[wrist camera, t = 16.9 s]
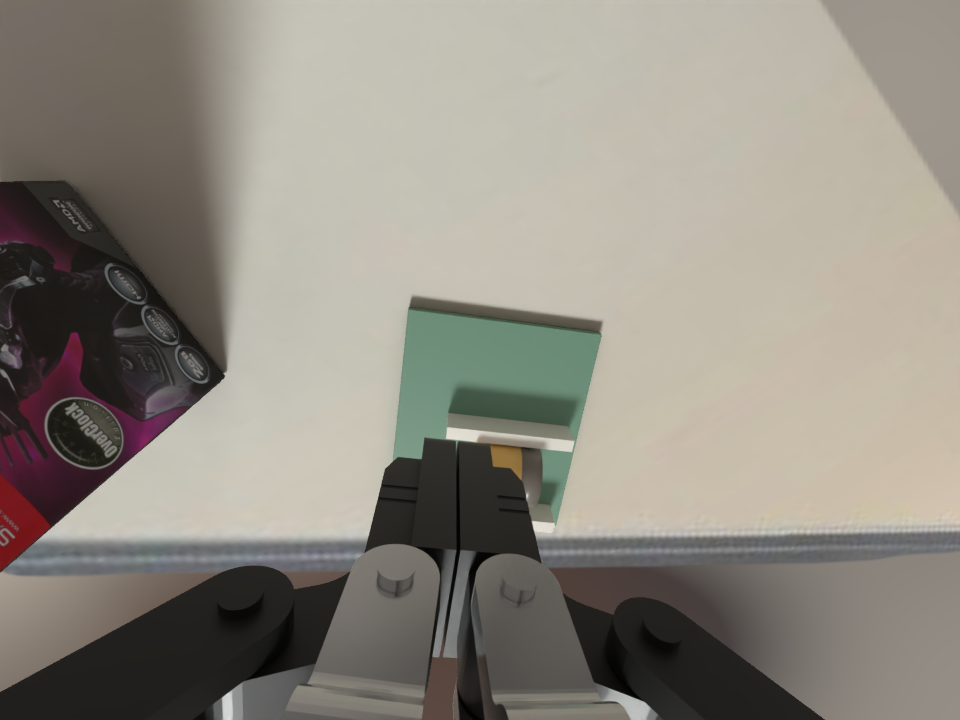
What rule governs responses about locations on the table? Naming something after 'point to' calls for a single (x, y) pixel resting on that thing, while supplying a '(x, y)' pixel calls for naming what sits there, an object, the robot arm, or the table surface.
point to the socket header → (514, 436)
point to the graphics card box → (78, 360)
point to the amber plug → (521, 467)
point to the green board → (493, 381)
